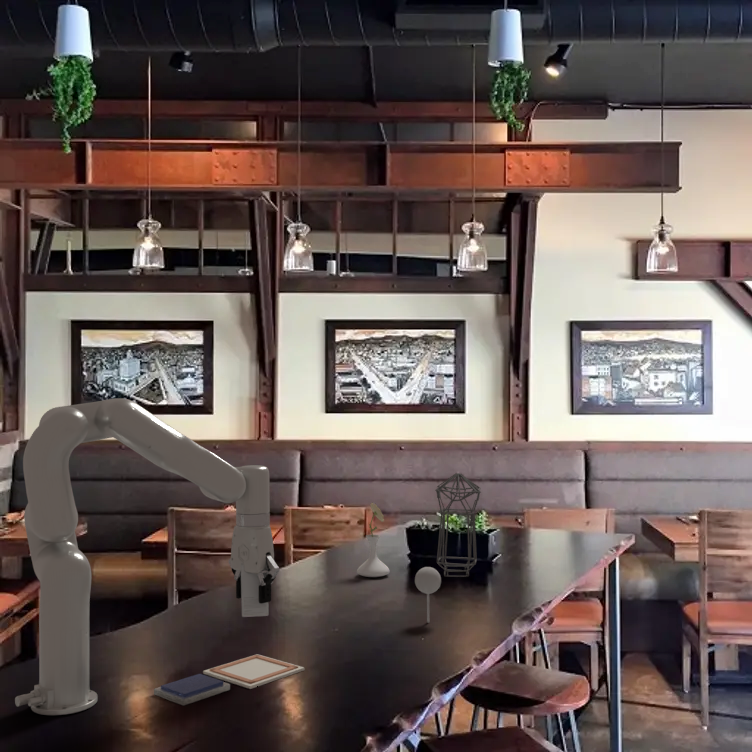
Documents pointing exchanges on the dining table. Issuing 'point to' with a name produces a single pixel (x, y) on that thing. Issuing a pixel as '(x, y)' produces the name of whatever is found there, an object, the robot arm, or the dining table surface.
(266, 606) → the skincare box
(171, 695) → the ink pad
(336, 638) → the dining table surface
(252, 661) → the white square board
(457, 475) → the geometric lantern
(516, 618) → the dining table surface
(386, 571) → the flower in vase
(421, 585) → the lollipop
